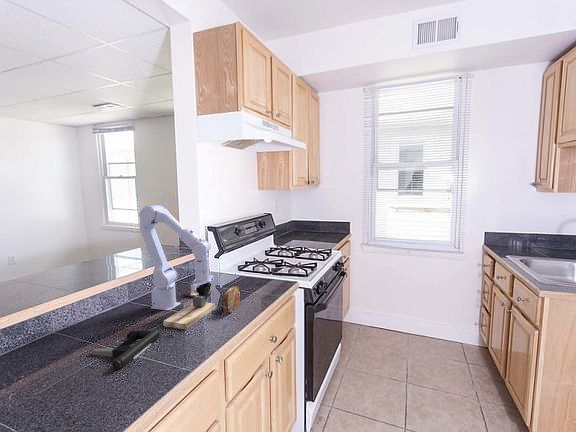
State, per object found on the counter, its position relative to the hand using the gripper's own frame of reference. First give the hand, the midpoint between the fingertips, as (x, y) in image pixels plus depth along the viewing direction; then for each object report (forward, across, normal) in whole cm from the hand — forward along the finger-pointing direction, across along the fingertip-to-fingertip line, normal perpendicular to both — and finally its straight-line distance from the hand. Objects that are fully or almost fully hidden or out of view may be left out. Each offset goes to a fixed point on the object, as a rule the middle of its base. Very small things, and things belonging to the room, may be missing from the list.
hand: (203, 300), depth 131 cm
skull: (+3, +14, +12) cm, 19 cm away
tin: (+3, +3, -12) cm, 13 cm away
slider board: (+3, -9, 0) cm, 10 cm away
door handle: (+4, -37, +6) cm, 37 cm away
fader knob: (+1, -3, 0) cm, 3 cm away
